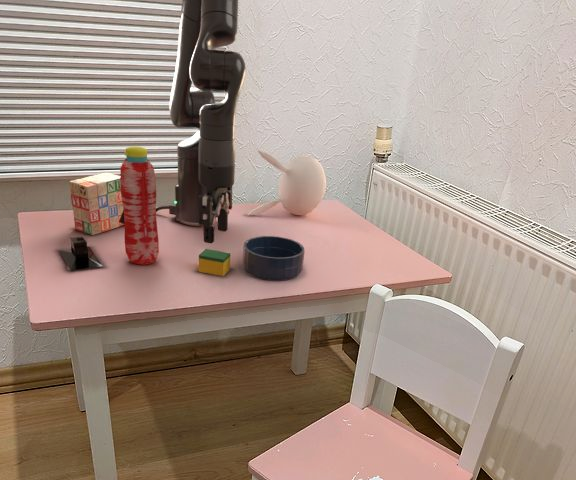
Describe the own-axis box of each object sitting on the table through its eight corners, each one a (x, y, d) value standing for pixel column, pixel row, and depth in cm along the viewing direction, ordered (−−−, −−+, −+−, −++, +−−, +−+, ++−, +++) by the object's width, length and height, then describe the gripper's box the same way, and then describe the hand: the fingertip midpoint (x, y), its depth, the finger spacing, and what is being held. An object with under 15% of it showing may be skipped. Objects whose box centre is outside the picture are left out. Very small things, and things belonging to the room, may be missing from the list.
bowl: (234, 274, 132) (235, 251, 129) (253, 253, 144) (254, 232, 141) (293, 285, 130) (296, 262, 127) (308, 263, 141) (310, 242, 138)
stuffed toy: (329, 154, 172) (250, 140, 163) (347, 169, 162) (263, 156, 153) (313, 214, 183) (238, 204, 173) (328, 232, 173) (249, 223, 163)
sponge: (198, 271, 132) (198, 255, 129) (205, 264, 135) (205, 248, 133) (223, 276, 131) (223, 259, 128) (229, 269, 134) (230, 253, 132)
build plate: (103, 268, 129) (101, 248, 126) (69, 272, 126) (66, 251, 123) (89, 247, 138) (87, 228, 135) (57, 251, 134) (54, 231, 132)
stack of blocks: (135, 211, 162) (132, 166, 156) (151, 216, 160) (149, 171, 153) (74, 229, 147) (68, 180, 140) (92, 235, 144) (86, 185, 138)
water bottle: (117, 250, 138) (107, 139, 124) (150, 247, 141) (144, 139, 127) (130, 270, 129) (121, 153, 115) (165, 266, 133) (160, 152, 119)
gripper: (212, 151, 126) (211, 224, 135) (186, 165, 114) (187, 244, 123) (244, 156, 125) (241, 229, 134) (222, 170, 113) (220, 249, 122)
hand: (215, 236), depth 128 cm, fingers open, 8 cm apart
